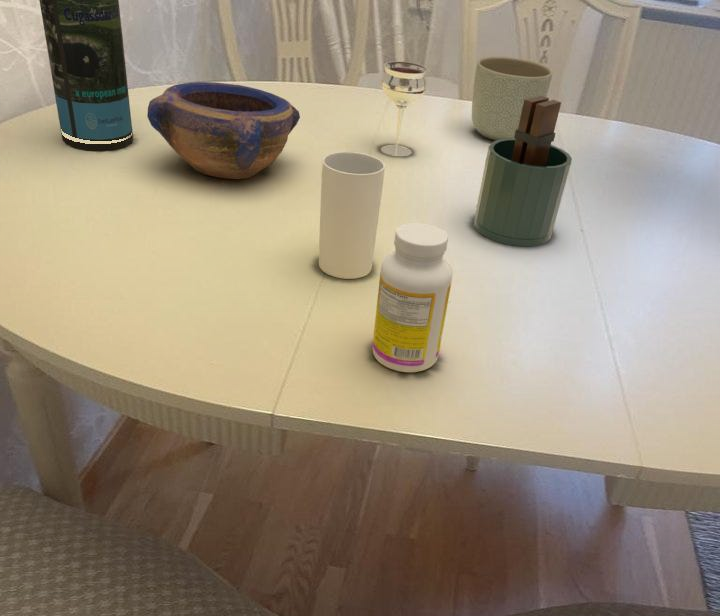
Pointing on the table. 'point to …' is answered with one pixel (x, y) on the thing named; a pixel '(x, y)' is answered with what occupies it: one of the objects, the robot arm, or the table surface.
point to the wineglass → (402, 94)
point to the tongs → (535, 131)
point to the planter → (505, 93)
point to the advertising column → (88, 71)
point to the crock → (520, 196)
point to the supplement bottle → (412, 299)
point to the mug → (349, 213)
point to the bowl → (223, 126)
